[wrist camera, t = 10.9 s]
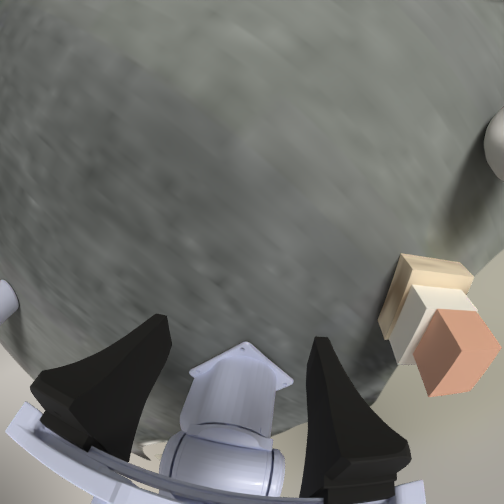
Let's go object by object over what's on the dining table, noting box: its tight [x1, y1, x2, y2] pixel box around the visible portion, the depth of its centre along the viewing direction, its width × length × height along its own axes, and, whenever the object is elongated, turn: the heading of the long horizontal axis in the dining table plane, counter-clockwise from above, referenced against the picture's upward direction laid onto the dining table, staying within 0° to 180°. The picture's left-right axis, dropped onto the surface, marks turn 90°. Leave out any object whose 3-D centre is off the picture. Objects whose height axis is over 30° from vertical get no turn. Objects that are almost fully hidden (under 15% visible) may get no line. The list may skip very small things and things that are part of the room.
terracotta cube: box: [413, 309, 501, 397], centre depth 14 cm, size 4×4×4 cm
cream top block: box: [389, 285, 478, 365], centre depth 18 cm, size 6×6×3 cm
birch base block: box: [378, 253, 474, 340], centre depth 20 cm, size 7×7×3 cm
